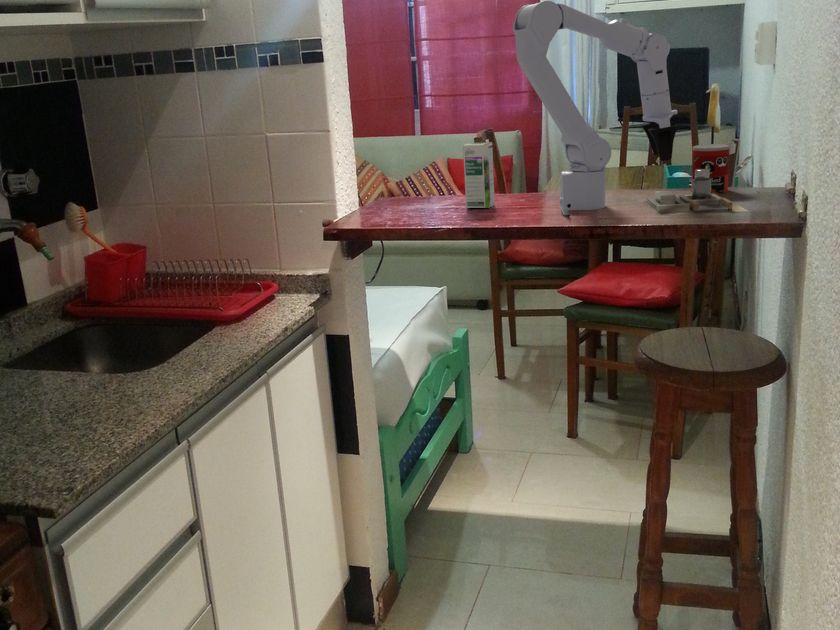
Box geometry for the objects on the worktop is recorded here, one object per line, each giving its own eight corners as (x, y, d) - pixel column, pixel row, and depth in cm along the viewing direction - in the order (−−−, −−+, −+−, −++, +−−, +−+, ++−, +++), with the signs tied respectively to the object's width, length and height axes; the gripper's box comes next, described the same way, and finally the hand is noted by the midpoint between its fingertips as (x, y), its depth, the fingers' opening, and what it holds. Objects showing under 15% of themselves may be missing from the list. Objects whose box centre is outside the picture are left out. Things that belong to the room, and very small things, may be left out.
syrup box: (465, 209, 187) (462, 144, 183) (471, 204, 192) (468, 142, 188) (489, 209, 185) (487, 143, 181) (495, 204, 190) (492, 141, 186)
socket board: (658, 220, 160) (658, 206, 159) (642, 205, 176) (643, 192, 175) (748, 216, 158) (748, 201, 158) (724, 201, 175) (724, 188, 174)
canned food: (688, 198, 181) (689, 148, 178) (694, 192, 188) (696, 144, 185) (724, 199, 178) (726, 147, 174) (729, 193, 184) (732, 143, 181)
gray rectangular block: (660, 207, 168) (660, 195, 167) (654, 202, 173) (654, 191, 173) (675, 206, 167) (675, 194, 167) (669, 201, 173) (669, 190, 172)
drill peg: (694, 206, 167) (695, 171, 165) (690, 203, 170) (691, 169, 168) (712, 205, 166) (713, 170, 164) (707, 202, 170) (709, 168, 168)
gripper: (682, 91, 163) (689, 158, 168) (667, 85, 177) (674, 148, 181) (646, 99, 164) (654, 165, 169) (634, 92, 178) (642, 154, 182)
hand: (662, 157), depth 175 cm, fingers open, 7 cm apart
